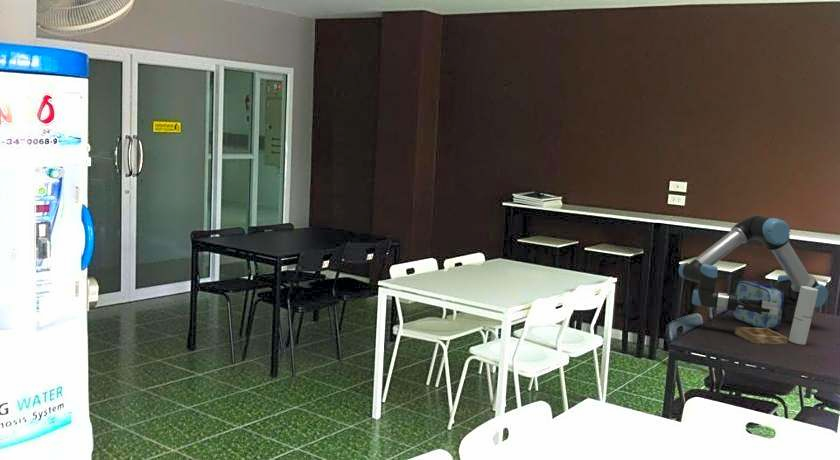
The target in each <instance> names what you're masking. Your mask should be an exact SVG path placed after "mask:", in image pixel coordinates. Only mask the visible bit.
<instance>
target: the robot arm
mask: <svg viewBox="0 0 840 460" xmlns="http://www.w3.org/2000/svg"><path fill="white" fill-rule="evenodd" d="M790 229H791V228H790V226H789V225H788V224H787V222H786V221H784V220H782V219H780V218H778V217H777V218H776V217H770V216H769V217H768V216H763V215H757V214H756V215H751V216H749V217H747V218H744V219H743V220H740V221H739V222H738V223H736V224H735V225H733V226H732V227H731V229H730V231H729V232H727V234H725V235H724V236H722V237H721V238H720V239H719V240H718V241H716V242H715V243H714V244H713V245H711V246H710V247H708V248H707V249H706V250H705V251H703V252H702V253H701V254H699V255H698V256H696V257H695V258H694V259H693V260H691V261H690V262H682V263H681V264H680V265H679V267H678V274H679V277H681V278H683V279H684V280H687V281H691V282H695V283H698V287H697V288H694V289H693V291H692V296H691V297H692V298H691V303H692V304H693V306H698V307H705V308H710V309H718V311H722V310H725V311H726V309H727V311H735V310H736V307H738V309H743V310H747V311H752V312H756V313H759V314H761V312H762V313H767V314H773V315H777V314H778V309H777V305H778V304H776V303H770V302H763V301H762V300H748V299H739V300H737V295H735V294H733V293H732V294H731V293H729V294H728V293H726V292H720V291H719V292H717V291H716V288H717V287H716V286H717V280H718V279H717V278H718V266H715V264H717V263H718V262H719V261H720V260H722V259H723V258H724V257H725V256H727V255H728V254H730V253H731V252H732V251H733V250H736V248H737V247H739V246H740V245H741V244H746V243H747V242H749V241H752V240H754V241H755V240H756V241H760V242H761V243H762V244H763V245H764V247H765V248H766V250H768V251H771V252H772V253H773V255H774V257H775V258H776V259H777V262H778V263H779V265H780V266H781V268H782V270H783V271H784V273H785V274H780V275H778V277H777V281H776V283H775V284H776V285H775V288H777V289H779V290H781V291H782V292H783V294H784V301H783V308H782V316H781V322H780V323H788V324H792V323H793V319H794V314H795V310H796V305H797V301H798V297H799V292H800V288H801V286H807V287H812V288H815V289H818V294H817V298H816V302H815V307H814V309H816V308H820V307H822V306H823V305H824V304H825V303H826V301H827V298H828V288H827V287H826V286H825V285H824V284H820V283H818V280H817V279H816V277H815V276H814V275H812V274H809V272H808V271H807V270H806V267H805V266H804V264H803V263H802V261H801V260H800V258H799V256H798V255H797V252H796V251H795V250H794V248H793V246H792V245H791V243H790V239H791V238H790V237H791V236H790V235H791V234H790V233H791V230H790ZM761 306H762V307H761Z"/></svg>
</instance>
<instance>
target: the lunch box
mask: <svg viewBox="0 0 840 460" xmlns="http://www.w3.org/2000/svg"><path fill="white" fill-rule="evenodd" d="M734 295H737V300H739V299H748V300H762V301H763V302H770V303H776V304H778V305H777V309H778V314H777V315H773V314H767V313H762V312H761V314H759V313H756V312H752V311H747V310H743V309H738V307H736V310H735V311H732V315H733V317H734V319H736V320H738V321H740V322H743V323H746V324H747V325H750V326H753V327H754V328H768V329H770V330H777V329H778V327H779V325H780V324H781V323H782V322H781V316H782V308H783V301H784V294H783V292H782V291H781V290H779V289H777V288H776V287H774V286H772V285H769V284H766V283H762V282H759V281H756V280H740V281H739V282H737V285H736V287H735V291H734ZM761 307H762V306H761Z"/></svg>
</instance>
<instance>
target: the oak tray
mask: <svg viewBox="0 0 840 460" xmlns="http://www.w3.org/2000/svg"><path fill="white" fill-rule="evenodd" d="M734 334H735V336H738V337H740V338H742V339H743V340H746V341H747V340H748V342H749V343H751V344H760V343H761V344H762V345H766V344H767V345H779V346H780V345H782V346H783V345H784V346H786V345H788V344H787V343H788V337H787V336H785V335H782V334H781V333H779V332H777V331H774V330H773V329H768V328H758V327H749V326H747V327H746V326H744V327H743V326H735V328H734Z"/></svg>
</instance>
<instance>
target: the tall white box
mask: <svg viewBox="0 0 840 460" xmlns="http://www.w3.org/2000/svg"><path fill="white" fill-rule="evenodd" d="M817 294H818V289H815V288H812V287H807V286H801V288H800V292H799V297H798V301H797V305H796V310H795V314H794V319H793V323H791V329H790V333H789V337H788V341H789V342H791V343H793V344H796V345H803V346H804V345H806V344H807V341H808V340H807V339H808V337H809V332H810V328H811V323H812V319H813V314H814V309H815V308H814V307H815V302H816V298H817Z"/></svg>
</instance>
